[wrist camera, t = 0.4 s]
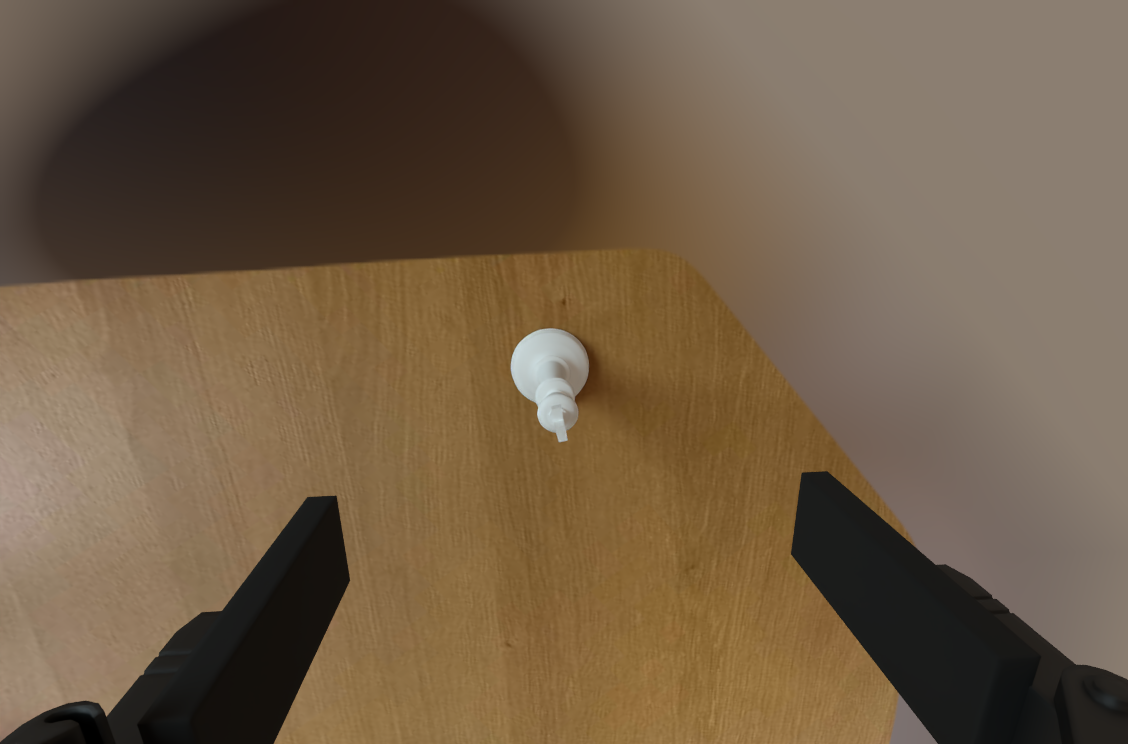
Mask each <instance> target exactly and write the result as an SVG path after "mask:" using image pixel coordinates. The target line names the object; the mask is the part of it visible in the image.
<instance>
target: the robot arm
mask: <svg viewBox="0 0 1128 744" xmlns="http://www.w3.org/2000/svg"><path fill="white" fill-rule="evenodd" d="M791 555H792V556H793V557H794V558H795V560H796V561H797V562H798V564H799V565H800V566H801V568H802V569H803V570H804V571H805V573H806V574H807V575H808V577H809V578H810V579H811V580H812V582H813V583H814V584H815V586H816V587H817V588H818V589H819V591H820V592H821V593H822V595H823V596H824V597H825V598H826V600H827V601H828V602H829V604H830V605H831V606H832V607H833V609H834V610H835V611H836V613H837V614H838V615H839V617H840V618H841V619H842V620H843V622H844V623H845V624H846V626H847V627H848V628H849V629H850V631H851V632H852V633H853V635H854V636H855V637H856V638H857V640H858V641H859V642H860V644H861V645H862V646H863V647H864V649H865V650H866V651H867V653H868V654H869V655H870V657H871V658H872V659H873V660H874V662H875V663H876V664H877V666H878V667H879V668H880V669H881V671H882V672H883V673H884V675H885V676H886V677H887V678H888V680H889V681H890V682H891V684H892V685H893V686H894V687H895V689H896V690H897V691H898V693H899V694H900V695H901V696H902V698H903V699H904V700H905V702H906V703H907V704H908V705H909V707H910V708H911V709H912V711H913V712H914V713H915V714H916V716H917V717H918V718H919V720H920V721H921V722H922V724H923V725H924V726H925V727H926V729H927V730H928V731H929V733H930V734H931V735H932V736H933V738H934V739H935V740H936V742H937V743H938V744H1128V680H1127V679H1125V678H1123V677H1120V676H1118V675H1116V674H1113V673H1111V672H1109V671H1107V670H1103V669H1100V668H1096V667H1092V666H1088V665H1076V664H1074V663H1073V662H1072V661H1071V660H1070V659H1068V658H1067V657H1066V656H1064V655H1063V654H1062V653H1061V652H1060V651H1059V650H1057V649H1056V648H1055V647H1054V646H1053V645H1051V644H1050V643H1049V642H1048V641H1046V640H1045V639H1044V638H1043V637H1041V635H1039V634H1038V633H1037V632H1035V631H1034V630H1033V629H1032V628H1031V627H1030V626H1028V625H1027V624H1026V623H1025V622H1024V621H1022V620H1021V619H1020V618H1019V617H1017V616H1016V615H1015V614H1014V613H1010V612H1009V609H1008V608H1006V607H1005V606H1004V605H1003V604H1002V603H1000V602H999V601H998V600H997V599H993V598H992V595H991V594H989V593H988V592H987V591H986V590H985V589H984V588H982V587H981V586H980V585H979V584H977V583H976V582H975V581H974V580H973V579H971V578H970V577H968V576H966V575H964V574H962V573H960V572H958V571H957V570H955V569H953V568H951V567H949V566H947V565H935V564H934V563H933V562H932V561H930V560H929V559H928V558H927V557H926V556H925V555H924V554H922V553H921V552H920V551H919V550H918V549H917V548H915V547H914V546H913V545H912V544H911V543H910V542H908V541H907V540H906V539H905V538H904V537H903V536H902V535H900V534H899V533H898V532H897V531H896V530H895V529H893V528H892V527H891V526H890V525H889V524H888V523H886V522H885V521H884V520H883V519H882V518H881V517H880V516H878V515H877V514H876V513H875V512H874V511H873V510H871V509H870V508H869V507H868V506H867V505H866V504H864V503H863V502H862V501H861V500H860V499H859V498H858V497H856V496H855V495H854V494H853V493H852V492H851V491H849V490H848V489H847V488H846V487H845V486H844V485H842V484H841V483H840V482H839V481H838V480H837V479H836V478H834V477H833V476H832V475H831V474H830V473H829V472H827V471H825V472H805V473H802V475H801V482H800V490H799V497H798V505H797V512H796V520H795V527H794V535H793V543H792V550H791ZM349 582H350V577H349V570H348V564H347V558H346V552H345V546H344V539H343V533H342V527H341V521H340V515H339V508H338V502H337V496H321V497H307V499H306V500H305V501H304V503H303V504H302V505H301V507H300V508H299V509H298V511H297V512H296V513H295V515H294V516H293V517H292V519H291V520H290V521H289V523H288V524H287V525H286V527H285V528H284V529H283V531H282V532H281V533H280V535H279V536H278V537H277V539H276V540H275V541H274V543H273V544H272V545H271V547H270V548H269V549H268V551H267V552H266V553H265V555H264V556H263V557H262V559H261V560H260V561H259V563H258V564H257V565H256V567H255V568H254V569H253V571H252V572H251V573H250V575H249V576H248V577H247V579H246V580H245V581H244V582H243V584H242V585H241V586H240V588H239V589H238V590H237V592H236V593H235V594H234V596H233V597H232V598H231V600H230V601H229V602H228V604H227V605H226V606H225V608H224V609H223V610H222V611H217V612H202V613H201V614H199V615H198V616H197V617H195V618H194V619H193V620H191V621H190V622H189V623H187V624H186V625H185V626H183V627H182V628H181V629H179V630H178V631H177V632H176V633H175V634H174V635H173V637H172V638H171V639H170V640H169V642H168V643H167V644H166V645H165V646H164V648H163V649H162V650H161V651H160V653H159V656H158V657H155V659H154V660H153V661H152V662H151V663H150V665H149V666H148V667H147V668H146V670H145V671H144V675H141V676H140V677H139V678H138V679H137V680H136V682H135V683H134V684H133V685H132V687H131V688H130V689H129V690H128V691H127V693H126V694H125V695H124V696H123V698H122V699H121V700H120V701H119V702H118V704H117V705H116V706H115V707H114V708H113V710H112V711H111V712H110V713H109V715H108V716H107V717H106V715H105V712H104V710H103V709H102V708H101V706H100V705H99V703H94V702H89V701H80V702H74V703H68V704H65V705H62V706H59V707H57V708H54V709H51V710H49V711H46V712H44V713H42V714H40V715H39V716H37V717H35V718H33V719H31V720H30V721H28V722H26V723H24V724H23V725H21V726H20V727H19V728H17V729H16V730H15V731H14V732H12V733H11V734H10V735H8V736H7V737H6V738H5V739H3V740H2V741H1V742H0V744H274V742H275V740H276V738H277V735H278V733H279V731H280V729H281V727H282V725H283V723H284V720H285V718H286V716H287V714H288V712H289V710H290V708H291V705H292V703H293V701H294V699H295V697H296V695H297V693H298V691H299V688H300V686H301V684H302V682H303V680H304V678H305V676H306V673H307V671H308V669H309V667H310V665H311V663H312V661H313V658H314V656H315V654H316V652H317V650H318V648H319V646H320V644H321V641H322V639H323V637H324V635H325V633H326V631H327V629H328V626H329V624H330V622H331V620H332V618H333V616H334V614H335V611H336V609H337V607H338V605H339V603H340V601H341V599H342V597H343V594H344V592H345V590H346V588H347V586H348V584H349Z"/></svg>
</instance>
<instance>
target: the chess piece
mask: <svg viewBox="0 0 1128 744" xmlns="http://www.w3.org/2000/svg"><path fill="white" fill-rule="evenodd" d="M588 372H589V360H588V355H587V352H586V350H585V348H584V346H583V345H582V343H581V342H580V341H579V340H578V339H577V338H576V337H575V336H573V335H572V334H570V333H568V332H566V331H563V330H560V329H552V328H549V329H541V330H538V331H535V332H533V333H531V334H529V335H528V336H526V337H525V338H524V339H523V340H522V341H521V342H520V343H519V344H518V345H517V347H516V349H515V351H514V353H513V356H512V360H511V373H512V377H513V380H514V382H515V384H516V386H517V388H518V389H519V391H520V392H521V393H522V394H523V395H524V396H525V397H526V398H528V399H529V400H531V401H533V402H535V403H536V404H537V406H538V413H537V414H538V420H539V422H540V424H541V425H542V426H543V427H544V428H545V429H547V430H549V431H551V432H556V434H557V437H558V441H559V442H562V441H567V440H568V439H567V434H566V431H567V430H569V429H570V428H571V427H572V426H573V425H574V424H575V423H576V421H577V419H578V407H577V404H576V403H575V396H576V395H577V394H578V393H579V392H580V391H581V389H582V388H583V386H584V385H585V383H586V380H587V377H588Z"/></svg>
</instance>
